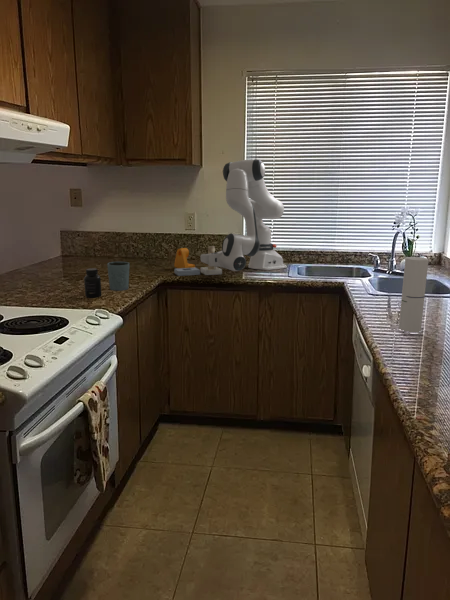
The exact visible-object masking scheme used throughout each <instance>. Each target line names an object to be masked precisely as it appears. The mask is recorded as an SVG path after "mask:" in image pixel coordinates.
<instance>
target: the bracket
mask: <svg viewBox="0 0 450 600" xmlns="http://www.w3.org/2000/svg"><path fill="white" fill-rule="evenodd" d="M189 255H190V250H189V249H188V248H187V247H182V248H177V250H176V253H175V260H174V264H173V265H174V266H173V267H174V268H175V269H177V268H195V267H196V264H194V263H189V262H188V258H189Z"/></svg>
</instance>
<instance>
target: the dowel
mask: <svg viewBox="0 0 450 600" xmlns="http://www.w3.org/2000/svg"><path fill="white" fill-rule="evenodd" d="M215 247H216V246H215V245H208V246H207V254H210V253H216V252H215V251H216V248H215ZM207 267H208V270H215V267H216V266H209V264H207Z"/></svg>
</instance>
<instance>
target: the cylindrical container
mask: <svg viewBox="0 0 450 600" xmlns="http://www.w3.org/2000/svg"><path fill="white" fill-rule="evenodd" d="M404 260H405V261H404V270H403V277H402V278H403V281H402V288H401V289H402V290H401V301H400V309H399V311H400V312H399V321H398V322H399V323H398V330H399V329H401V330H404V331H409V332H419V331H421V332H422V324H423V316H424V315H423V313H424V307H425V306H424V304H425V299H426V298H425V295H426V286H427V277H428V270H429V258H428V257H427V258H426V257H421V256H406V257H405V259H404Z"/></svg>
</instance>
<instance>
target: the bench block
mask: <svg viewBox="0 0 450 600" xmlns="http://www.w3.org/2000/svg"><path fill="white" fill-rule="evenodd" d="M173 272H174V274H175V275H176V276H178V277H180V276H182V277H183V276H195V275H196V276H201V269H199V268H198V267H196V266H195V268H174V271H173Z"/></svg>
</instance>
